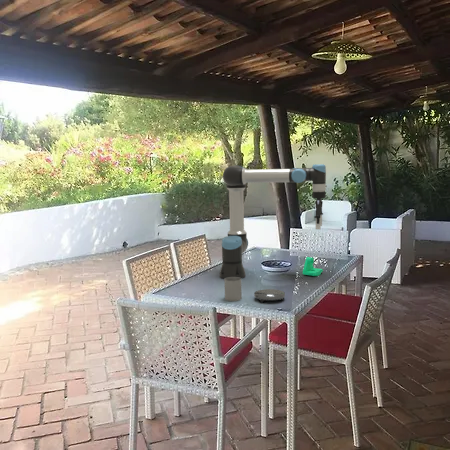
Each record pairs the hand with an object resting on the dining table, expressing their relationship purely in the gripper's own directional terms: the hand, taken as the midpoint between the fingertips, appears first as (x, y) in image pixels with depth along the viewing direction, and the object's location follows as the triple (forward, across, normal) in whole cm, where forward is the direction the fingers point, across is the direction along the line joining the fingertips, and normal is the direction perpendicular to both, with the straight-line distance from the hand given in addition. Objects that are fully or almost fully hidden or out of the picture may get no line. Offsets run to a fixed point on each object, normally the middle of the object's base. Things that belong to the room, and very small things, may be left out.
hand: (318, 227), depth 288 cm
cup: (+28, -57, +38) cm, 74 cm away
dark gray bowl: (+28, -55, +20) cm, 65 cm away
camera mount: (+28, 0, +3) cm, 29 cm away
